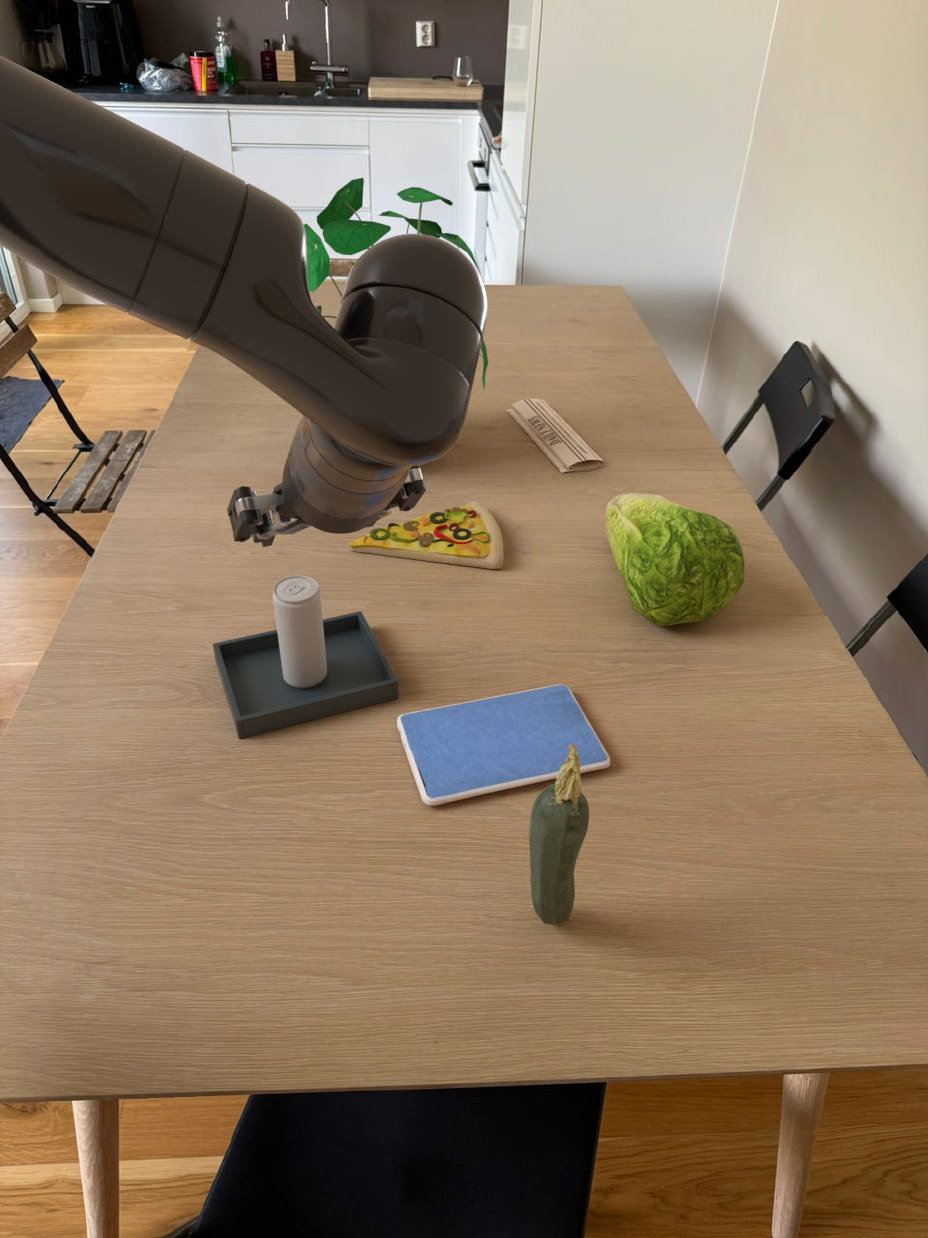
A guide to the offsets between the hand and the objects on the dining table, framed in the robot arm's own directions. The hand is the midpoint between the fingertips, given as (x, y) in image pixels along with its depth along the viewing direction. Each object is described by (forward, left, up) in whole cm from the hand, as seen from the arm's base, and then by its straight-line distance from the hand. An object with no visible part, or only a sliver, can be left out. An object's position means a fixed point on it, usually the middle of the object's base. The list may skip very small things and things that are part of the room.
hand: (314, 525), depth 73 cm
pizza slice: (+22, +33, -27) cm, 48 cm away
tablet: (+16, -5, -27) cm, 32 cm away
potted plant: (+28, +62, -27) cm, 73 cm away
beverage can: (0, +11, -26) cm, 29 cm away
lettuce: (+47, +15, -27) cm, 56 cm away
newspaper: (+53, +56, -27) cm, 81 cm away
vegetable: (+11, -25, -27) cm, 39 cm away
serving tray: (0, +12, -27) cm, 29 cm away
